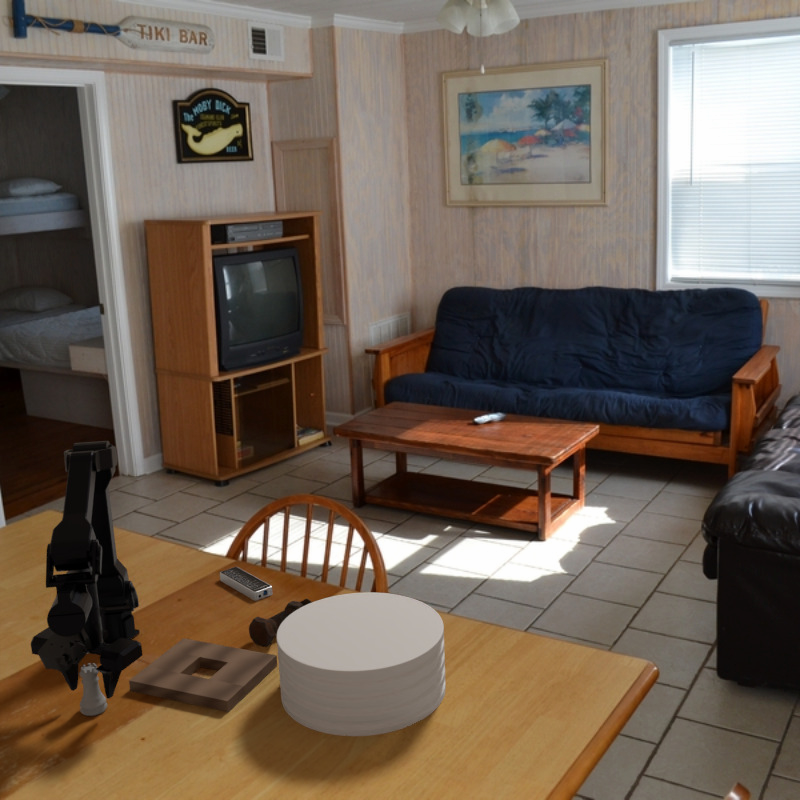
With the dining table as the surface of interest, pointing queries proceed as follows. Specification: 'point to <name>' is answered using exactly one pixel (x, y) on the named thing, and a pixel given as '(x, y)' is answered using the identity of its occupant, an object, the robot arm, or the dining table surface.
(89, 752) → the dining table surface
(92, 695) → the rook chess piece
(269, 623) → the bolt
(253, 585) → the multiport hub
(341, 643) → the plate stack
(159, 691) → the socket board
